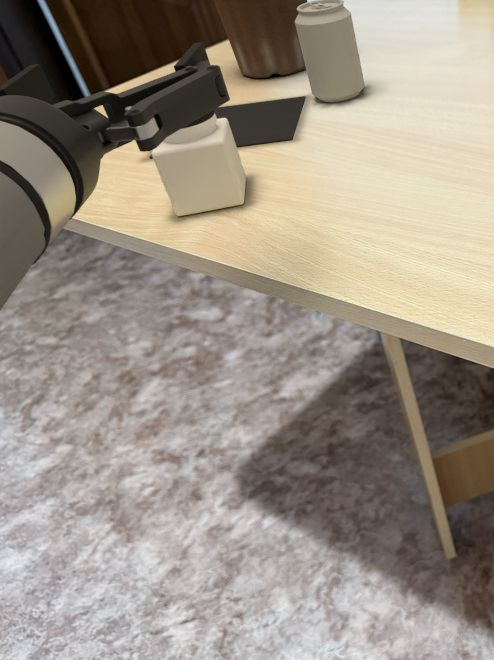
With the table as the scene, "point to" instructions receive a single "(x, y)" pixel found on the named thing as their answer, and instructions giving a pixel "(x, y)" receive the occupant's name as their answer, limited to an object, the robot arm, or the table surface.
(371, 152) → the table surface
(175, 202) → the medicine bottle
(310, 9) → the can
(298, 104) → the mat
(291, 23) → the plant pot
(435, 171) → the table surface
